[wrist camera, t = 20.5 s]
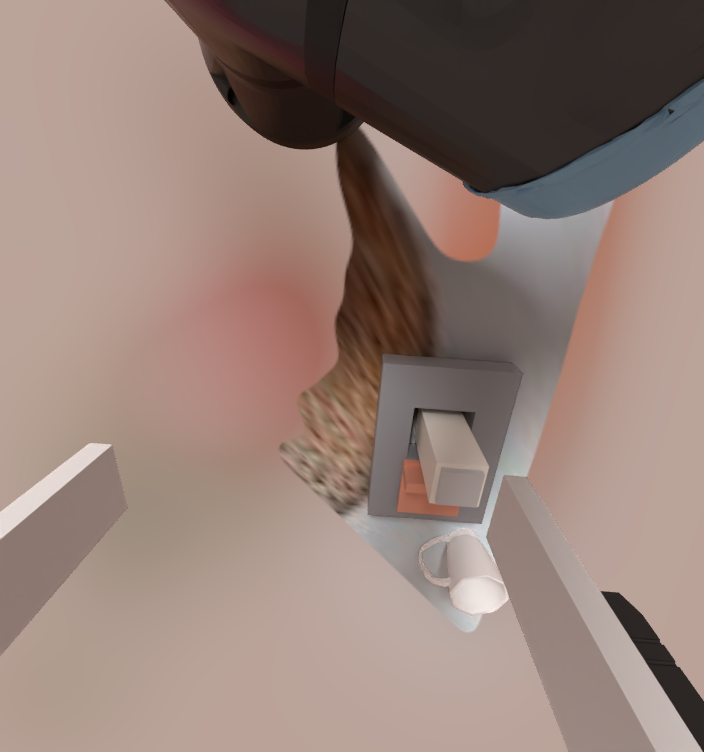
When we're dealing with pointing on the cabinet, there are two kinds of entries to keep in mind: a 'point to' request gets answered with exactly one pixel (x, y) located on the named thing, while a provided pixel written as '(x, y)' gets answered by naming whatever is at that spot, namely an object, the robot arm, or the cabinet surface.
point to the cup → (469, 573)
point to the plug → (449, 458)
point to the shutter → (418, 493)
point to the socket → (443, 392)
